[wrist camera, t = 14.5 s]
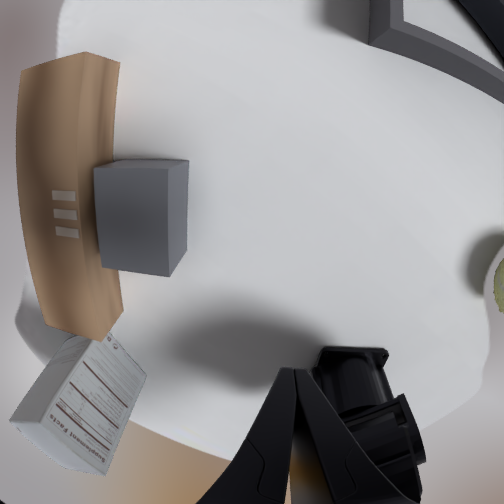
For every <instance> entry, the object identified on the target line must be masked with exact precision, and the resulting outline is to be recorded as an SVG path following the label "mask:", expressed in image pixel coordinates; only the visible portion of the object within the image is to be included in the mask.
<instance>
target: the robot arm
mask: <svg viewBox="0 0 504 504" xmlns="http://www.w3.org/2000/svg"><path fill="white" fill-rule="evenodd" d="M325 353H327V354H325ZM382 355H383V356H382ZM388 357H389V353H388V351H387V350H377V349H347V348H328V347H327V348H323V349H322V350H321V351H320V354H319V357H318V360H317V363H316V366H315V367H313V368H312V369H311V372H310V374H309V372H308V371H307V369H305V368H294V369H293V368H292V367H281V368H280V370H279V372H278V374H277V376H276V379H275V381H274V383H273V385H272V387H271V389H270V391H269V393H268V395H267V397H266V399H265V401H264V403H263V405H262V407H261V409H260V411H259V413H258V415H257V417H256V419H255V421H254V423H253V425H252V427H251V428H250V430H249V432H248V434H247V436H246V438H245V440H244V441H243V443H242V445H241V447H240V449H239V450H238V452H237V454H236V455H235V457H234V458H233V460H232V461H231V463H230V464H229V466H228V467H227V468H226V469H225V471H224V472H223V473H222V475H221V476H220V477H219V478H218V479H217V480H216V482H215V483H214V484H213V485H212V486H211V487H210V489H209V490H208V491H207V492H206V493H205V494H204V495H203V496H202V498H201V499H200V500H199V501H198V502H197V503H196V504H284V503H285V496H286V489H287V482H288V474H289V475H290V491H291V504H420V501H421V494H422V485H421V480H420V476H419V471H418V468H417V465H420V464H422V463H425V462H426V455H425V451H424V446H423V443H422V439H421V436H420V432H419V429H418V427H417V424H416V421H415V419H414V417H413V414H412V412H411V409H410V407H409V405H408V402H407V400H406V397H405V395H404V393H403V394H401V395H398V396H397V397H396V398H394V397H393V394H392V391H391V388H390V386H389V383H388V380H387V377H386V374H385V372H384V369H383V367H384V365H385V363H386V361H387V359H388ZM0 504H5V503H4V502H3V501H1V500H0Z"/></svg>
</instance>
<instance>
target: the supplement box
mask: <svg viewBox="0 0 504 504" xmlns="http://www.w3.org/2000/svg"><path fill="white" fill-rule="evenodd" d="M145 379H146V375H145V373H144V372H143V371H142V370H141V369H140V368H139V366H138V365H137V364H136V363H135V362H134V361H133V360H132V358H131V357H130V356H129V355H128V354H127V353H126V351H125V350H124V349H123V348H122V347H121V346H120V344H119V343H118V342H117V341H116V339H115V338H114V337H113V336H112V335H111V333H110V332H108V334H107V335H106V336H105V338H104V339H103V341H102V342H99V341H96V340H92V339H89V338H85V337H82V336H79V335H77V336H75V337H73V338H70V339H68V340H66V341H65V342H64V344H63V345H62V346H61V348H60V349H59V350H58V351H57V353H56V354H55V355H54V357H53V358H52V359H51V361H50V362H49V363H48V365H47V366H46V367H45V369H44V370H43V372H42V373H41V374H40V376H39V377H38V378H37V380H36V381H35V383H34V384H33V386H32V387H31V388H30V390H29V391H28V393H27V394H26V396H25V397H24V398H23V400H22V402H21V403H20V404H19V406H18V407H17V409H16V411H15V412H14V414H13V415H12V417H11V418H10V420H9V421H10V422H11V424H12V425H13V426H14V427H15V428H16V429H17V430H18V431H19V432H20V433H21V434H22V435H23V436H25V437H26V438H27V439H28V440H29V441H30V442H31V443H32V444H34V445H35V446H36V447H37V448H39V449H40V450H41V451H42V452H43V453H45V454H46V455H47V456H48V457H50V458H51V459H52V460H54V461H55V462H56V463H58V464H59V465H60V466H62V467H64V468H65V469H71V470H76V471H80V472H85V473H90V474H96V475H102V476H106V474H107V471H108V468H109V466H110V463H111V461H112V459H113V456H114V453H115V451H116V448H117V446H118V443H119V441H120V438H121V436H122V434H123V431H124V429H125V426H126V424H127V422H128V419H129V417H130V414H131V412H132V410H133V407H134V405H135V402H136V400H137V398H138V395H139V393H140V391H141V388H142V386H143V384H144V382H145Z"/></svg>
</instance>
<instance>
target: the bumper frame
mask: <svg viewBox="0 0 504 504" xmlns="http://www.w3.org/2000/svg"><path fill="white" fill-rule="evenodd" d="M369 45H370V46H373V47H377V48H380V49H384V50H387V51H390V52H393V53H396V54H399V55H402V56H405V57H408V58H410V59H413V60H416V61H418V62H421V63H423V64H426V65H428V66H431V67H433V68H436V69H438V70H440V71H443V72H445V73H447V74H449V75H451V76H454V77H456V78H458V79H460V80H462V81H464V82H466V83H468V84H470V85H472V86H474V87H476V88H477V89H479V90H481V91H483V92H485V93H486V94H488V95H490V96H492V97H493V98H495V99H497V100H499V101H500V102H502V103H503V104H504V72H503V71H502V70H500V69H498V68H497V67H495V66H494V65H492V64H491V63H489V62H487V61H486V60H484V59H482V58H481V57H479V56H477V55H475V54H474V53H472V52H470V51H468V50H466V49H465V48H463V47H461V46H459V45H457V44H455V43H453V42H451V41H449V40H447V39H445V38H443V37H441V36H438V35H436V34H434V33H432V32H429V31H427V30H425V29H422V28H420V27H418V26H415V25H412V24H410V23H407V22H405V21H404V18H403V0H370V24H369Z"/></svg>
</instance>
